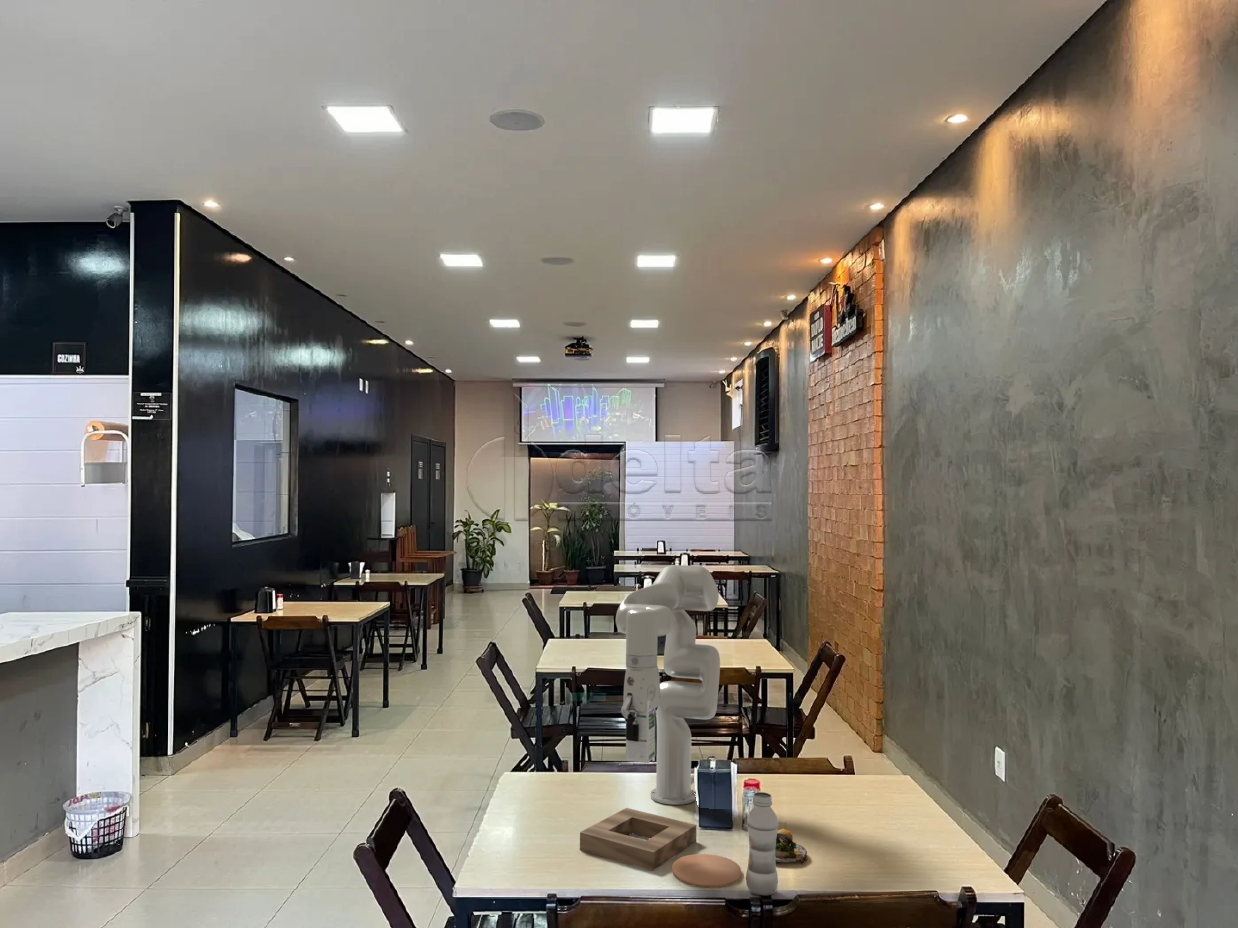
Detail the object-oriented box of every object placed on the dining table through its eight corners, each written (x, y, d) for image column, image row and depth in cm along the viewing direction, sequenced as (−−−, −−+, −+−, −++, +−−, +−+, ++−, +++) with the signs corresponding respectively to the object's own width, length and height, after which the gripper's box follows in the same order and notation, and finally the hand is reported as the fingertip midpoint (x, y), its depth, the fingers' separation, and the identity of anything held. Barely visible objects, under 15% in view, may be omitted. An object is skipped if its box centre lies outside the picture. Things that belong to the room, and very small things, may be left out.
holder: (626, 823, 215) (626, 807, 216) (696, 841, 204) (696, 824, 205) (579, 849, 199) (579, 832, 199) (653, 870, 188) (653, 852, 188)
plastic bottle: (753, 882, 182) (754, 787, 184) (783, 891, 179) (783, 793, 180) (740, 893, 177) (740, 795, 178) (770, 902, 173) (770, 802, 174)
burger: (744, 854, 198) (744, 821, 198) (778, 843, 205) (779, 811, 205) (783, 872, 188) (783, 838, 189) (818, 859, 196) (818, 826, 196)
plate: (692, 853, 198) (692, 848, 198) (752, 868, 189) (752, 864, 189) (659, 875, 185) (659, 871, 185) (721, 893, 177) (721, 888, 177)
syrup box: (648, 763, 199) (649, 700, 200) (624, 760, 201) (625, 698, 202) (655, 756, 204) (656, 695, 205) (632, 754, 206) (633, 693, 207)
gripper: (635, 668, 194) (634, 748, 194) (673, 657, 209) (672, 731, 208) (608, 664, 199) (607, 742, 198) (647, 654, 213) (646, 726, 212)
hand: (640, 736), depth 203 cm, fingers closed on syrup box, 6 cm apart
